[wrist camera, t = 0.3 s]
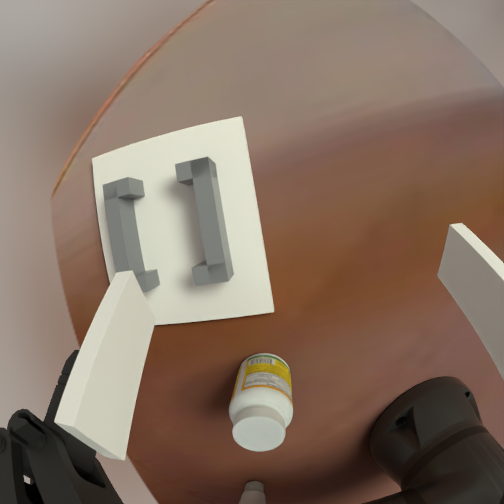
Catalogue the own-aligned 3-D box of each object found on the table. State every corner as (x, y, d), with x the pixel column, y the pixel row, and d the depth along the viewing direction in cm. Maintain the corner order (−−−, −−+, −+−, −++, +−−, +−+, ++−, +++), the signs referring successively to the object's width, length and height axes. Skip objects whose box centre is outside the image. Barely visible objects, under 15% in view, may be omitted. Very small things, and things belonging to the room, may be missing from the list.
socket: (274, 308, 27) (273, 323, 23) (125, 324, 28) (106, 337, 24) (242, 119, 25) (237, 104, 21) (97, 159, 26) (75, 153, 22)
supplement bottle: (264, 341, 27) (258, 397, 18) (301, 373, 27) (310, 434, 18) (227, 373, 28) (209, 432, 18) (264, 402, 28) (259, 464, 19)
